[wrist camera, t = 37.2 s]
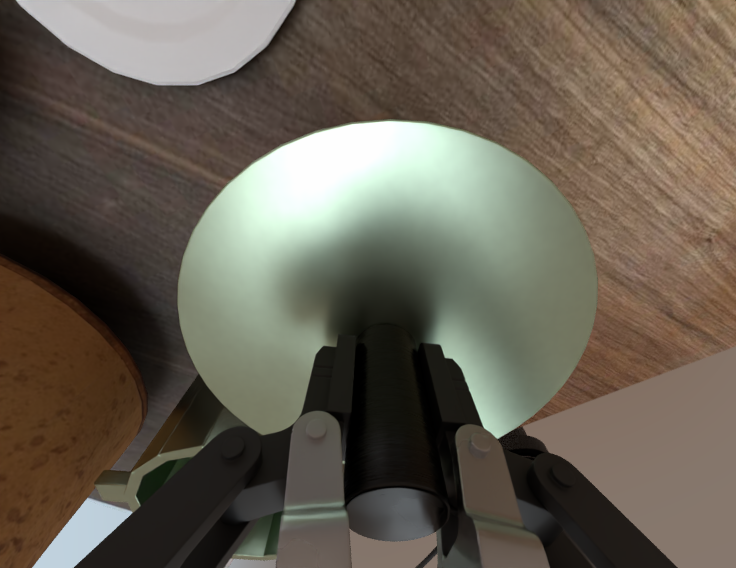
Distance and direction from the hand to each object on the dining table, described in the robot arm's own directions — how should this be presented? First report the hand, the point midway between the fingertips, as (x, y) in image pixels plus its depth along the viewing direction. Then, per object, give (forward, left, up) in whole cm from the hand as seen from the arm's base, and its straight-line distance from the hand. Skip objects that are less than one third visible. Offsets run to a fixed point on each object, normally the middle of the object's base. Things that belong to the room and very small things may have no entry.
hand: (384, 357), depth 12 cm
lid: (0, 0, -1) cm, 1 cm away
